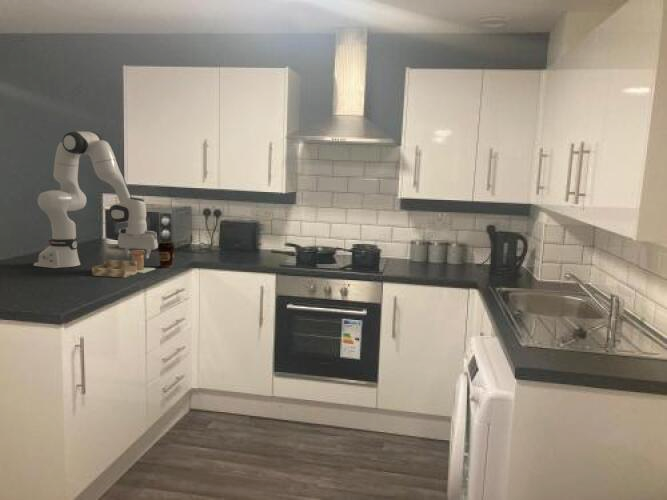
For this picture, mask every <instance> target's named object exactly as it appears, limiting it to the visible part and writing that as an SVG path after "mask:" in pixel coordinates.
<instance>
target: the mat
mask: <svg viewBox="0 0 667 500" xmlns="http://www.w3.org/2000/svg"><path fill="white" fill-rule="evenodd" d="M154 270H156V267H144V270H137V274H145V273H148V272H151V271H154Z"/></svg>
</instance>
